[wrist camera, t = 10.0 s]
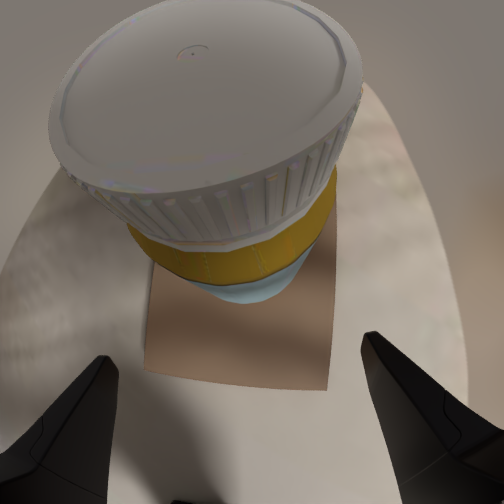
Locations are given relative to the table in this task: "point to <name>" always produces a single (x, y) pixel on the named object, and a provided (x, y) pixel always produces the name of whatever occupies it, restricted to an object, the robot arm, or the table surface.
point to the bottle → (214, 135)
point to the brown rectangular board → (248, 328)
